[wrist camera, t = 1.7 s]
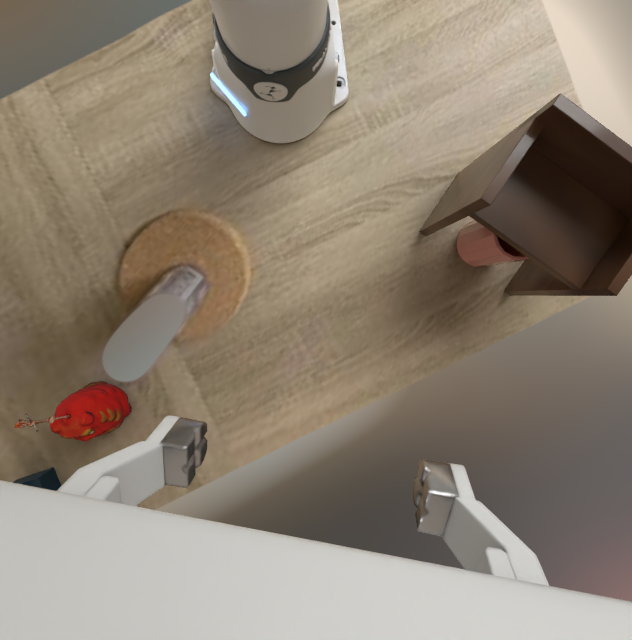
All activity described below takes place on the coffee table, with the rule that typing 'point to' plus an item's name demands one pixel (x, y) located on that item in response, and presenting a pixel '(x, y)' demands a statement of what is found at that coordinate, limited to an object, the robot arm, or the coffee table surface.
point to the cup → (484, 247)
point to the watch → (42, 480)
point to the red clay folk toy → (87, 412)
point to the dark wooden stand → (552, 202)
